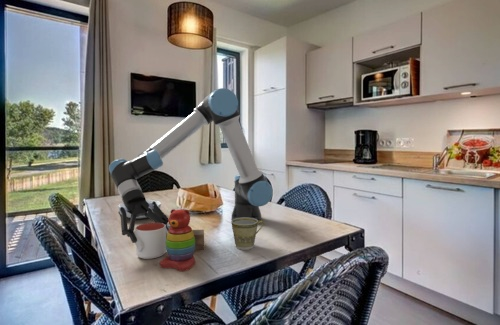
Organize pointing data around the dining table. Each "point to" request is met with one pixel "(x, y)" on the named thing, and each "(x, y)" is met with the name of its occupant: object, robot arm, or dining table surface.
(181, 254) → the stacking bear
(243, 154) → the robot arm
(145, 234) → the cup
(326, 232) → the dining table surface
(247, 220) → the ceramic cup
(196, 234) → the walnut block
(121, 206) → the serving bowl
